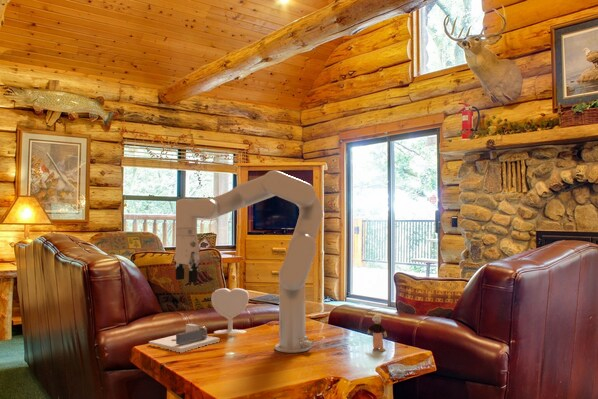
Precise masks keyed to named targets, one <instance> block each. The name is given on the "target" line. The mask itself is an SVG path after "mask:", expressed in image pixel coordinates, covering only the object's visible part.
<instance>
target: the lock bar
mask: <svg viewBox="0 0 598 399" xmlns="http://www.w3.org/2000/svg"><path fill="white" fill-rule="evenodd" d="M175 335H176V344H178V345H181V344H185V343H188V342H192V341H196V340H200V339H205V338H207V336H208V328H207V327H206V326H199V329H196V330H192V331H188V332H186V331H184V332H179V333H176V334H175Z"/></svg>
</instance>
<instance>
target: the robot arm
mask: <svg viewBox="0 0 598 399" xmlns="http://www.w3.org/2000/svg"><path fill="white" fill-rule="evenodd" d="M273 197H278V198H280V199H283V200H286V201H288V202H290V203H292V204H295V205H296V206H297V207H298V209H299V211H298V213H299V215H298V218H297V222H296V225H295V228H294V231H293V233H292V236H291V238H290V240H289V242H288V247H287V252H286V254H285V257H284V260H283V263H282V265H281V266H280V268H279V270H278V294H279V295H278V302H279V305H278V308H279V309H278V313H279V315H278V316H279V317H278V323H279V324H278V325H279V326H278V327H279V328H278V330H279V331H278V332H279V333H278V338H279V342H278V343H276V344H275V345H274V349H275V350H276V351H277V352H280V353H291V354H292V353H293V354H296V353H303V352H307V351H309V350H310V348H311V349H312V348H313V347H314V344H315V342H314V341H313V340H309V336H308V335H306V282H307V279H308V276H309V273H310V271H311V267H312V264H313V262H314V258H315V256H316V251H317V243H316V241H317V236H318V233H319V230H320V227H321V222H322V218H323V206H322V203H321V201H320V198H319V197H318V196H317V192H316V189H315V187H314V186H313V185H312V184H311V183H308V182H307V181H303V180H302V179H300V178H296V177H294V176H291V175H288V174H286V173H284V172H282V171H279V170H276V169H275V170H270V171H268V172H267V173H265V174H263V175H261V176H258V177H256V178H253V179H251V180H248V181H244V182H241V183H240V184H238V185H236V186H235V187H233V189H230V190H229V191H227V192H225V193H224V192H223V193H222V194H219V195H217V196H214V197H212V198H208V197H207V198H206V197H205V198H204V197H203V198H198V199H193V198H181V199H178V200H176V203H175V238H176V242H175V255H173V260H174V268H175V280H177V281H178V280H184V279H185V267H184V266H188V269H189V270H188V282H189V283H194V282H198V270H199V265H200V260H201V258H200V248H199V240H198V219H204V220H213V219H216V218H218V217H220V216H224V215H226V214H229V213H232V212H235V211H238V210H240V209H243V208H244V209H245V208H246V207H249V206H252V205H254V204H257V203H259V202H262V201H265V200H267V199H271V198H273Z"/></svg>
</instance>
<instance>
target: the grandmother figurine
mask: <svg viewBox="0 0 598 399" xmlns="http://www.w3.org/2000/svg"><path fill="white" fill-rule="evenodd" d="M371 321H373V323H374V324H371V325H370V326H369V327H368V328H367V329H368V330H367V332H366V333H367V335H369V334H371V332H372V345H373V346H372V347H373V348H372V351H375V352H376V351H378V352H381V353H382V352H386V348H384V341H383V340H384V339H383V338H387V337H388V335H387V331H386V329H385V327H384V326H383V325H382V324H381V323H382V315H381V314H380V313H377V314H374V315H373V317H372V320H371Z"/></svg>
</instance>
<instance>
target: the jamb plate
mask: <svg viewBox="0 0 598 399" xmlns="http://www.w3.org/2000/svg"><path fill="white" fill-rule="evenodd" d="M199 328H200V325H199V324H194V323H187V324H185V332H188V331H192V330H196V329H199ZM219 341H221V339H220V337H216V336H211V335H207V338H205V339H200V340H196V341H192V342H188V343H185V344H181V345H178V344H176V334H175V335H171V336H166V337H163V338H158V339H154V340H150V341H148V345H149V344H153V345H157V346H160V347H163V348H166V349H169V350H168V351H170V350H172V351H171V352H175V351H176V353H179V352H180V354H182V353H185V351H186V352H189V351H192V350H191V349H193V350H195V349H194V348H197V349H199V348H198V347H200V348H203V347H202V346H204V347H206V346H205V345H207V346H209V345H208V344H211V345H213V344H212V343H214V344H217V343H216V342H218V343H220V342H219ZM166 349H165V350H166ZM188 350H189V351H188Z"/></svg>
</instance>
